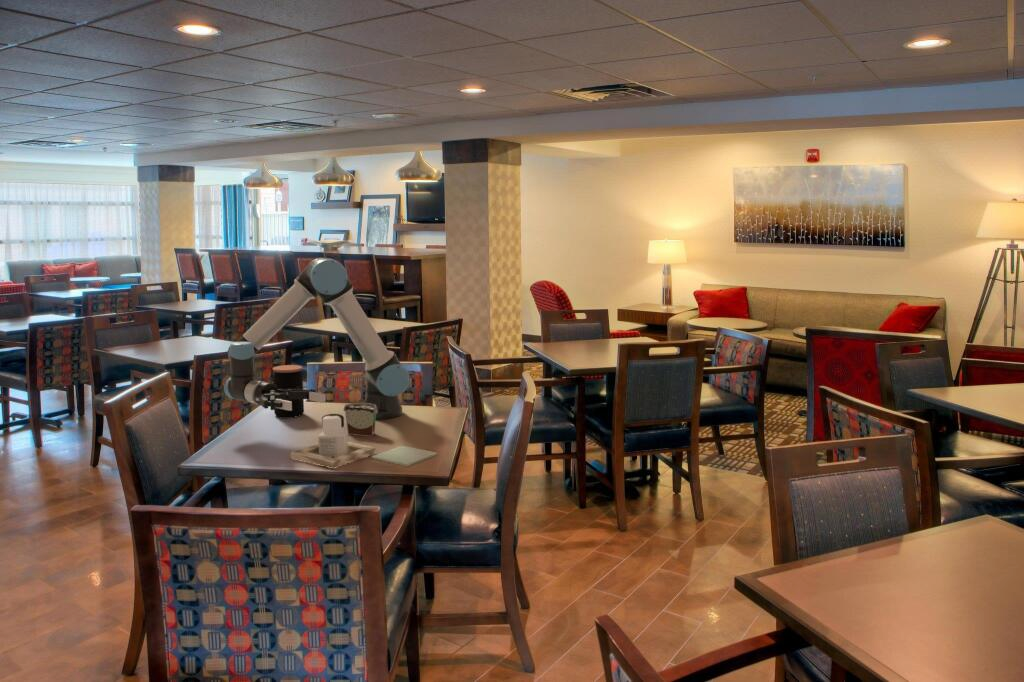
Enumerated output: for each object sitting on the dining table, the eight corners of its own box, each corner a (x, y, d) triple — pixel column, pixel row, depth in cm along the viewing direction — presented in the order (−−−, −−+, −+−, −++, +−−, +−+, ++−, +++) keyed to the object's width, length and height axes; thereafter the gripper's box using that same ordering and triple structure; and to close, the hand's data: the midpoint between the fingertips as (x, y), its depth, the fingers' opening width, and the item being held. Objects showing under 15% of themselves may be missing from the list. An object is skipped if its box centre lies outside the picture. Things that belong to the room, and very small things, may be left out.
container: (323, 453, 237) (321, 412, 235) (348, 452, 238) (347, 411, 236) (318, 460, 229) (317, 418, 228) (345, 460, 230) (343, 418, 228)
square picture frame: (334, 444, 246) (334, 438, 246) (375, 454, 236) (375, 447, 236) (290, 458, 231) (290, 452, 231) (333, 469, 221) (333, 462, 221)
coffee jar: (295, 419, 278) (294, 370, 276) (269, 417, 281) (266, 369, 278) (309, 412, 289) (307, 365, 286) (283, 410, 291) (281, 364, 288)
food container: (385, 432, 261) (384, 404, 260) (376, 437, 255) (375, 408, 254) (353, 429, 265) (352, 401, 264) (344, 433, 259) (343, 405, 258)
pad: (402, 447, 243) (402, 445, 243) (436, 454, 236) (436, 452, 236) (371, 458, 232) (371, 456, 232) (407, 466, 224) (407, 464, 224)
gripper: (292, 398, 258) (337, 406, 247) (230, 411, 238) (276, 421, 226) (292, 376, 257) (337, 384, 246) (229, 388, 237) (275, 397, 225)
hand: (308, 402), depth 236 cm, fingers open, 13 cm apart
